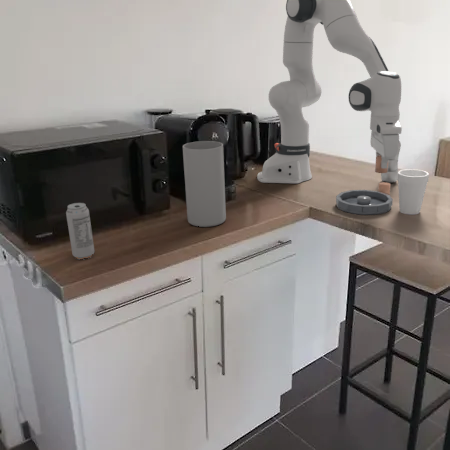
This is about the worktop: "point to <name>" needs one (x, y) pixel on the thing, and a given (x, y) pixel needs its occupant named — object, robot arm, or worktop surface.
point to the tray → (370, 209)
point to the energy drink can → (80, 230)
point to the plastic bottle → (392, 169)
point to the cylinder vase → (204, 183)
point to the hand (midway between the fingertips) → (381, 165)
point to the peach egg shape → (378, 163)
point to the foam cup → (411, 190)
